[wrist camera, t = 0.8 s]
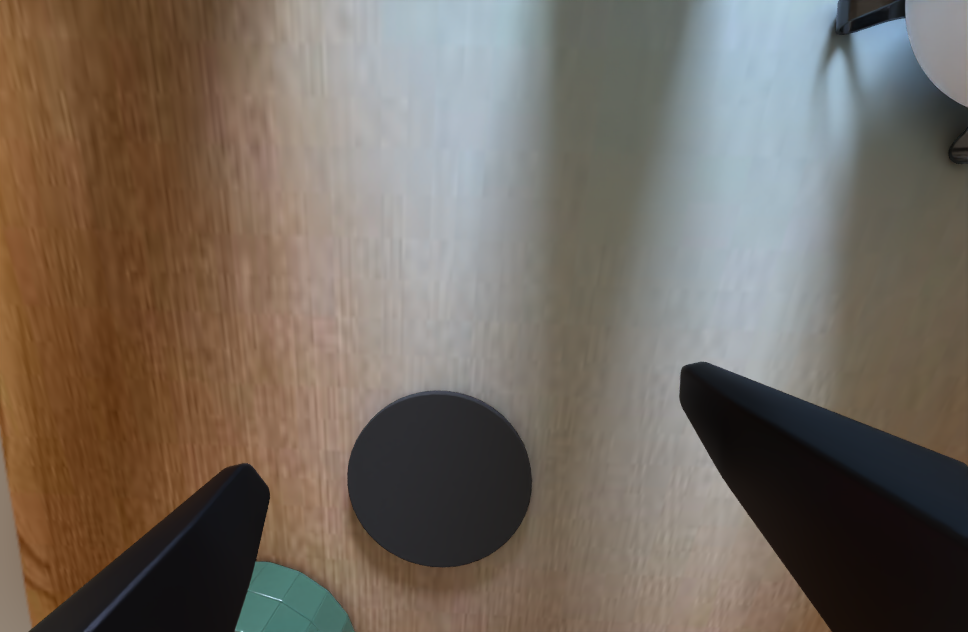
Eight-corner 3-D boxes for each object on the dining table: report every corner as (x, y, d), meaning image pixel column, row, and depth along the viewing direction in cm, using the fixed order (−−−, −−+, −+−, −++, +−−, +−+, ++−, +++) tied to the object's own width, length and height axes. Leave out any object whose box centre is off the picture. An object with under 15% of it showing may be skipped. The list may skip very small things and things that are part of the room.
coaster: (552, 534, 23) (554, 541, 22) (385, 579, 23) (382, 587, 23) (500, 367, 21) (500, 370, 21) (325, 419, 22) (320, 423, 21)
